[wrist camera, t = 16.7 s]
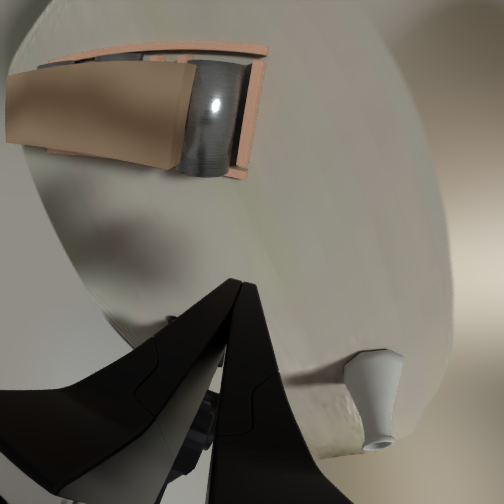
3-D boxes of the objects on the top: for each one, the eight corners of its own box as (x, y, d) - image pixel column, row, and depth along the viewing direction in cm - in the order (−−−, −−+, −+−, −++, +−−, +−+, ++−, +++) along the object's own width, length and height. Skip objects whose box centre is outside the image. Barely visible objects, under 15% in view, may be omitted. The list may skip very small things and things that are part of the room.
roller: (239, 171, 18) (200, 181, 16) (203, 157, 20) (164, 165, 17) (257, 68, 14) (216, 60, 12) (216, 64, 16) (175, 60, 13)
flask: (356, 343, 26) (361, 433, 18) (414, 350, 25) (428, 431, 17) (333, 379, 30) (329, 456, 22) (385, 385, 29) (390, 455, 21)
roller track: (246, 177, 19) (242, 182, 18) (51, 151, 20) (43, 155, 19) (268, 47, 14) (266, 44, 13) (53, 60, 15) (43, 61, 14)
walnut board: (179, 162, 16) (168, 170, 14) (18, 137, 16) (6, 142, 15) (196, 64, 12) (185, 63, 11) (21, 73, 13) (7, 76, 12)
